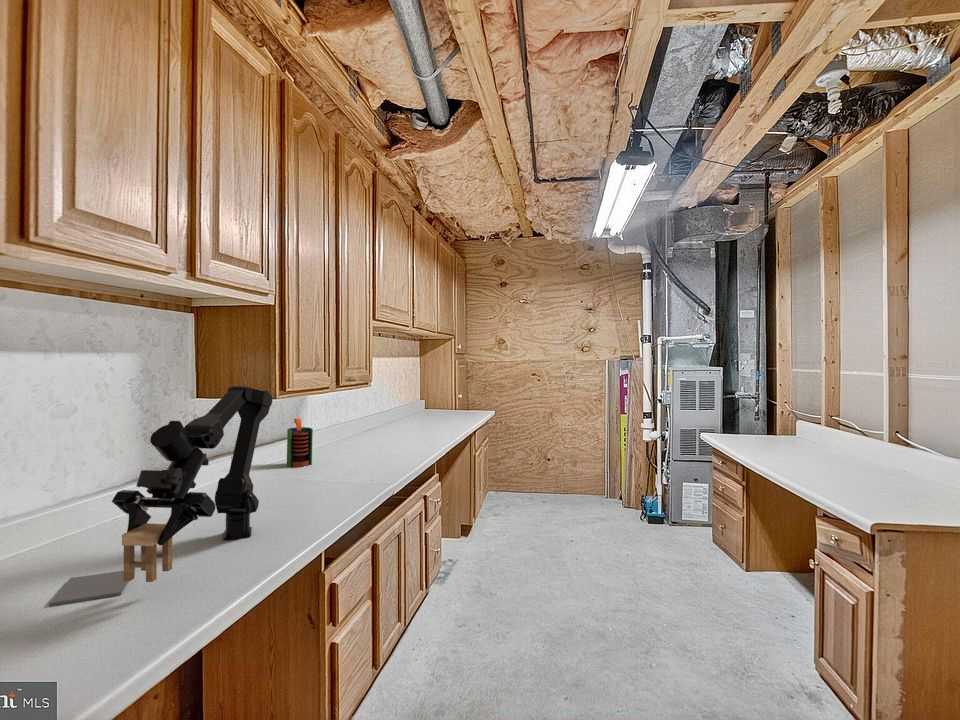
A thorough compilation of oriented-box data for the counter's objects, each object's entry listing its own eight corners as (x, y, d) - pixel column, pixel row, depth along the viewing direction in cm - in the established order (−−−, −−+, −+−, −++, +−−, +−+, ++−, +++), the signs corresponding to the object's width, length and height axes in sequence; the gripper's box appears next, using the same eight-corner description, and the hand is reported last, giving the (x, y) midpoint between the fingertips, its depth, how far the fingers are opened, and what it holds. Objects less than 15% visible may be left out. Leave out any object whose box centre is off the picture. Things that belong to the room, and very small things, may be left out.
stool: (145, 567, 97) (145, 523, 97) (173, 568, 97) (173, 524, 97) (121, 581, 91) (121, 534, 91) (152, 582, 91) (152, 535, 91)
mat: (70, 580, 100) (70, 577, 100) (134, 571, 104) (134, 569, 104) (49, 606, 90) (49, 603, 90) (120, 595, 94) (120, 592, 94)
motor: (293, 468, 199) (294, 421, 199) (281, 465, 204) (282, 419, 204) (314, 464, 207) (315, 418, 207) (303, 461, 213) (303, 416, 212)
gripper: (119, 451, 98) (70, 524, 87) (207, 453, 97) (169, 527, 86) (147, 479, 106) (106, 549, 95) (229, 481, 105) (197, 552, 94)
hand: (143, 544), depth 93 cm, fingers closed on stool, 6 cm apart
